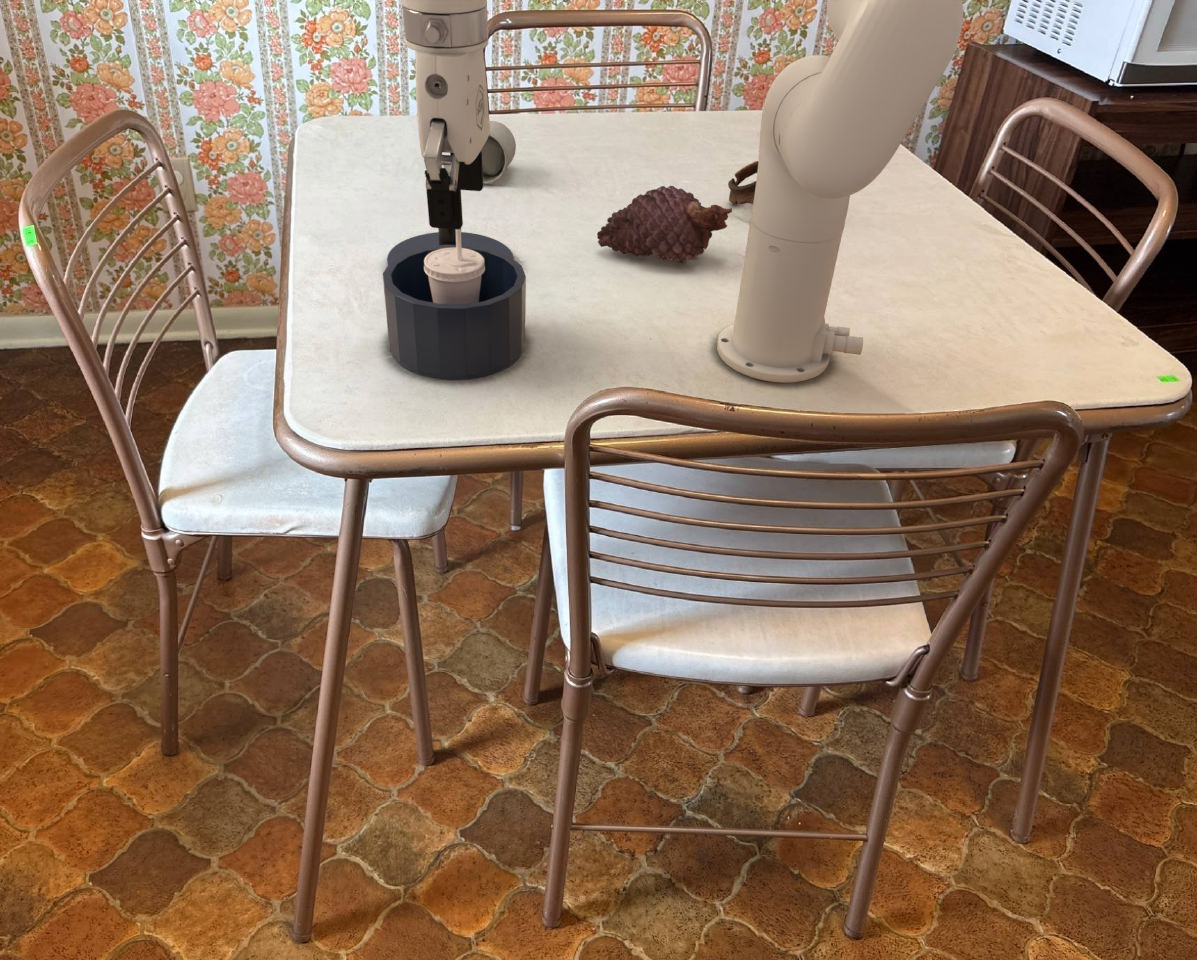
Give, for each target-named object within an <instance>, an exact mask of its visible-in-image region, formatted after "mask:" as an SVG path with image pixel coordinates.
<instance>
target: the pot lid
mask: <svg viewBox="0 0 1197 960" xmlns="http://www.w3.org/2000/svg"><path fill="white" fill-rule="evenodd" d="M437 229H438V230H437V231H436V232H428V233H423V234H419V235H415V236H412V237H409V238H406V239H404V240H403V241H400V242H398V243H397V244H396V245H394V246H393V247H392V248H391V249H390V251H389V252H388V254H387V258H386V264H387V265H388V264H389V263H390V262H391V261H393V260H395V259H396V258H398V257H400V256H401V255H403V254H405V253H408V252H411V251H414V250H417V249H420V248H425V247H432V246H440V245H456V229H444V228H437ZM461 244H462V245H472V246H478V247H483V248H489V249H493V250H495V251H498V252H500V253H503V254H505V255H508V256H510V257H511V258H513V259H514V260H515V256H514V253H513V252H512V250H511V248H509V247H508V246H507V245H506V244H504V242H503V243H502V242H501V241H499V240H497V239H496V238H495V239H494V238H493V237H489V236H486V235H484V234H483V235H482V234H478V233H474V232H466V231H461Z"/></svg>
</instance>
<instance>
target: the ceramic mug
mask: <svg viewBox="0 0 1197 960" xmlns="http://www.w3.org/2000/svg"><path fill="white" fill-rule="evenodd" d="M489 121H490V133H489V136H488V139H487V141H486V142H485V144H484V146H483V148H482V149H481V151H480V152H482V168H483V185H489V184H493V183H495V182H497V181H499V180H500V179H501V178H503V176H504V175H505V173H506V171H507V169H509V167H510V165H511V163H512V162H513V160H514V158H515V155H516V151H517V144H516V138H515V135H514V134H513V133H512V131H511V130H510V128H508V127H507V126H506V125H505V124H503V123H502V122H499V121H495V120H489ZM442 167H443V168H446V170H447V172H448V174H450V167H451V165H442Z"/></svg>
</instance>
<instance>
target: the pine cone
mask: <svg viewBox="0 0 1197 960" xmlns="http://www.w3.org/2000/svg"><path fill="white" fill-rule="evenodd" d="M732 212H733V209H732V208H724V207H722V206H721V205H718V204H711V205H710V206H709V207H708V206H707V207H706V206H703V205H702V202H701V201H699V199H698V198H695V196H694V194H693V193H692V192H689V191H688V192H687V191H686V190H685V189H683V188H677V187H675V186H674V185H669V186H667V187H666V186H665V185H661V186H660V187H657V188H656V189H655V188H654V189H651V190H646V192H645V193H644V194H641V193H640V194H638V195H637V196H636V197H634V198H633V199H632V201H631V203H629V204H628V205H627V206H626V207H623V208H622V209H618V210H617V212H614V211H613V213H612V214H611V216H609V217H608V218H606V219H607V220H606V222H607V223H606V224H605V225H603V226H601V228H600V230H599V231H597V234H596V235H597V239H598V240H597V243H598V245H599V246H600V247H601V248H603V247H608V248H610V249H612V251H613V252H620V253H621V254H622V255H628V254H630V255H632V256H633V257H639V256H641V257H649V256H651V255H654V256H655V257H658V259H659V260H660V261H663V262H665V261H666V260H671V261H673V262H679V263H681V264H684V263H686V261H691V260H692V259H693V258H694V259H695V258H697V257H698V256H699V255H700V256H701V255H703V254H704V253H705V250H707V249H708V247H709V244H710V239H712V237H713V232H715V231H716V232H717V231H721V230H725V229H726V228H727V227H728V225H727V223H726V221H727V220H728V218H729V214H731V213H732Z"/></svg>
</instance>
